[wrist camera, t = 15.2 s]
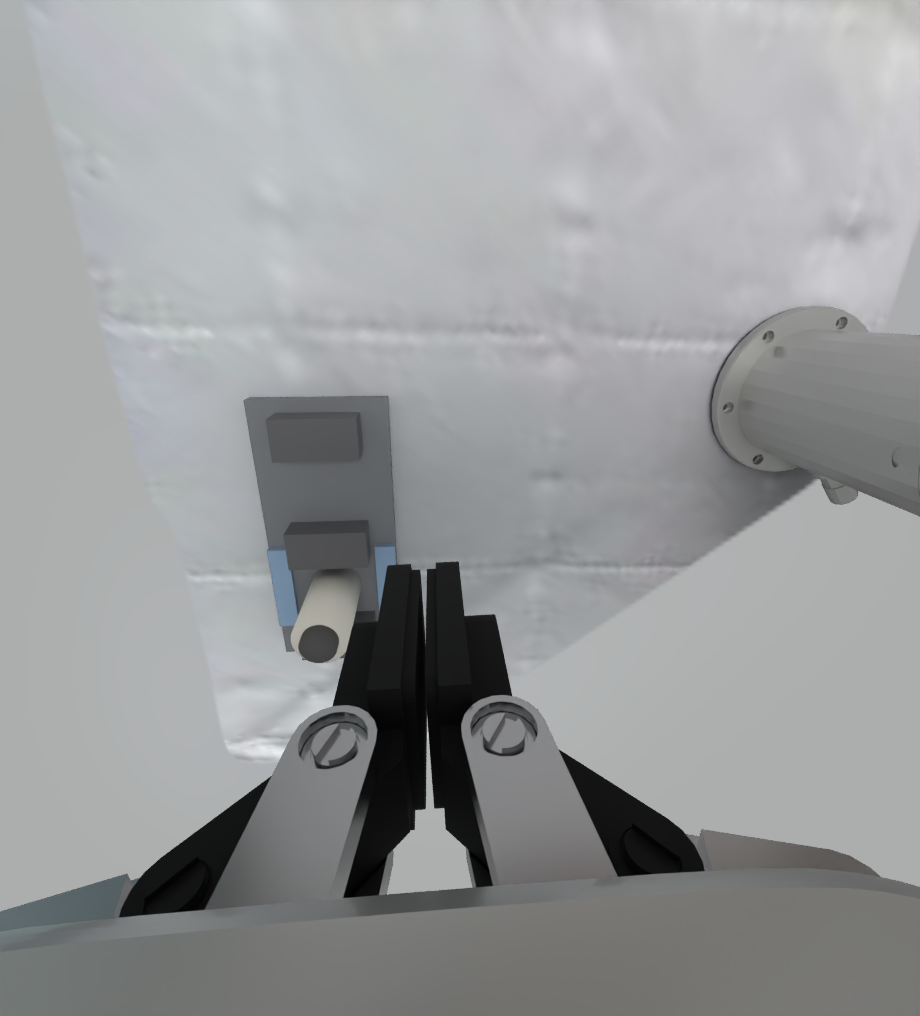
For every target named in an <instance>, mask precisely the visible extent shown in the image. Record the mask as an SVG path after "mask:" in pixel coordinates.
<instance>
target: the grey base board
mask: <svg viewBox="0 0 920 1016" xmlns="http://www.w3.org/2000/svg"><path fill="white" fill-rule="evenodd" d="M244 405H245V411H246V417H247V423H248V429H249V435H250V441H251V447H252V452H253V458H254V464H255V470H256V476H257V482H258V488H259V494H260V499H261V505H262V511H263V517H264V523H265V529H266V535H267V540H268V546H269V549H268V550H267V554H268V560H269V566H270V571H271V577H272V583H273V589H274V595H275V600H276V606H277V612H278V618H279V624H280V626H282V629H283V634H284V640H285V646H286V652H291V651H295V650H294V649H293V647H292V644H291V633H292V630H293V628H294V625H295V623H296V620H297V618H298V615H299V613H300V610H301V607H302V605H303V602H304V600H305V597H306V595H307V592H308V590H309V587H310V585H311V582H312V580H313V577H314V575H315V573H316V572H317V571H318V570H319V569H343V568H352V569H353V570H354V571H355V572H356V573H357V574H358V576H359V578H360V580H361V590H360V595H359V600H358V604H357V609H356V614H355V618H354V623H355V622H372V621H378V618H379V612H380V606H381V600H382V594H383V588H384V582H385V576H386V571H387V566H388V565H397V557H396V538H395V519H394V500H393V482H392V463H391V444H390V425H389V407H388V396H346V397H249V398H247V399H245V400H244ZM354 623H353V624H354ZM345 654H346V652H345V653H344V655H342V656H341V657H340V658H345ZM302 659H303V660H306V659H304V658H302Z"/></svg>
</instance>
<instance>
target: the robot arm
mask: <svg viewBox="0 0 920 1016" xmlns="http://www.w3.org/2000/svg"><path fill="white" fill-rule="evenodd" d="M723 406H724V407H723ZM712 422H713V427H714V432H715V434H716V436H717V438H718V441H719V443H720V445H721V446H722V447H723V448H724V450H725V451H726V452H727V453H728V454H729V455H730V456H731V457H733V458H734V459H735V460H737V461H738V462H740V463H742V464H744V465H746V466H748V467H751V468H754V469H757V470H760V471H769V472H779V471H788V470H792V469H796V468H799V467H801V468H803V469H806V470H808V471H809V472H810V473H811V475H812V476H813V477H814V478H818V479H820V480H821V482H822V486H823V488H824V490H825V492H826V494H827V496H828V498H829V500H830V501H831V502H832V503H834V504H841V505H842V504H846V503H850V502H851V501H853V500H855V499H856V498H857V496H858V491H860V492H863V493H865V494H868V495H870V496H872V497H875V498H877V499H879V500H882V501H884V502H887V503H889V504H891V505H894V506H896V507H899V508H901V509H903V510H906V511H908V512H911V513H913V514H915V515H918V516H920V335H906V334H889V333H871V332H868V330H867V329H866V327H865V326H864V325H863V324H862V323H861V322H860V321H859V320H858V319H857V318H856V317H854V316H853V315H851V314H849V313H847V312H846V311H844V310H840V309H836V308H832V307H820V306H811V307H799V308H795V309H792V310H788V311H785V312H782V313H780V314H778V315H776V316H774V317H772V318H770V319H768V320H766V321H765V322H763V323H762V324H761V325H759V326H758V327H756V328H755V329H754V330H752V331H751V332H750V333H749V334H748V335H747V336H746V337H745V338H744V339H743V340H742V341H741V342H740V343H739V344H738V345H737V347H736V348H735V349H734V351H733V352H732V353H731V355H730V356H729V357H728V359H727V361H726V363H725V365H724V367H723V368H722V370H721V372H720V374H719V377H718V380H717V383H716V386H715V388H714V394H713V400H712ZM857 490H858V491H857ZM427 718H428V731H429V744H430V757H431V770H432V784H433V796H434V808H445V824H446V830H447V831H449V832H450V833H451V834H452V835H453V836H454V837H455V838H456V839H457V840H458V841H460V842H461V843H462V844H463V845H464V846H465V847H466V856H467V863H468V868H469V873H470V877H471V882H472V887H473V888H464V889H453V890H452V889H451V890H439V891H426V892H414V893H403V894H402V893H401V894H389V895H387V890H388V885H389V880H390V876H391V871H392V866H393V849H394V848H395V847H396V846H397V845H398V844H399V843H400V842H401V840H403V838H404V837H405V836H406V835H407V834H408V833H409V832H410V830H415V829H414V828H415V810H422V809H425V808H426V743H427ZM0 1016H920V887H918V886H914V885H911V884H908V883H904V882H900V881H896V880H891V879H887V878H882V877H880V876H879V875H878V874H877V873H876V872H874V871H873V870H872V869H871V868H870V867H868V866H866V865H865V864H863V863H861V862H859V861H858V860H856V859H854V858H853V857H851V856H849V855H846V854H843V853H839V852H836V851H833V850H829V849H822V848H817V847H810V846H804V845H797V844H792V843H785V842H779V841H773V840H766V839H760V838H754V837H747V836H741V835H734V834H728V833H722V832H715V831H709V830H703V829H702V830H701V833H700V836H694V835H688V834H685V833H684V832H683V831H682V830H681V829H680V828H679V827H678V826H676V825H675V824H674V823H673V822H671V821H670V820H669V819H667V818H666V817H664V816H662V815H661V814H659V813H658V812H656V811H655V810H653V809H652V808H650V807H648V806H647V805H645V804H644V803H642V802H640V801H639V800H637V799H636V798H634V797H633V796H631V795H629V794H628V793H626V792H625V791H623V790H622V789H620V788H619V787H617V786H615V785H614V784H612V783H610V782H609V781H608V780H606V779H604V778H603V777H601V776H600V775H598V774H596V773H595V772H593V771H592V770H590V769H589V768H587V767H586V766H584V765H582V764H581V763H579V762H578V761H576V760H575V759H573V758H571V757H570V756H568V755H567V754H565V753H563V752H562V751H560V750H559V749H558V748H557V745H556V743H555V741H554V739H553V737H552V734H551V732H550V731H549V728H548V726H547V724H546V722H545V719H544V718H543V717H542V715H541V714H540V712H539V711H538V709H536V708H535V707H534V706H533V705H531V704H530V703H529V702H527V701H524V700H522V699H520V698H518V697H513V696H512V693H511V688H510V683H509V678H508V673H507V669H506V664H505V659H504V654H503V649H502V645H501V640H500V635H499V630H498V625H497V620H496V616H495V615H494V614H492V615H475V616H464V608H463V598H462V589H461V580H460V570H459V562H441V563H436V569H427V607H426V643H425V629H424V615H423V601H422V587H421V574H420V570H412V568H411V564H404V565H388V566H387V571H386V576H385V582H384V588H383V594H382V600H381V606H380V612H379V618H378V621H372V622H355V623H354V624H353V627H352V630H351V634H350V638H349V642H348V646H347V650H346V654H345V658H344V662H343V666H342V670H341V674H340V679H339V683H338V687H337V691H336V695H335V699H334V703H333V707H329V708H326V709H323V710H320V711H319V712H317V713H315V714H313V715H311V716H309V717H308V718H307V719H306V720H305V721H304V722H303V723H301V724H300V725H299V726H298V728H297V729H296V731H295V732H294V734H293V735H292V737H291V739H290V741H289V743H288V744H287V746H286V748H285V750H284V752H283V754H282V756H281V758H280V760H279V762H278V765H277V767H276V768H275V771H274V772H273V774H272V776H271V777H270V778H268V779H267V780H266V781H264V782H263V783H261V784H260V785H259V786H257V787H256V788H255V789H253V790H252V791H251V792H249V793H248V794H247V795H245V796H244V797H243V798H241V799H240V800H239V801H237V802H236V803H234V804H233V805H232V806H230V807H229V808H228V809H227V810H225V811H224V812H222V813H221V814H220V815H218V816H217V817H216V818H214V819H213V820H212V821H210V822H209V823H207V824H206V825H205V826H204V827H202V828H201V829H199V830H198V831H197V832H195V833H194V834H193V835H191V836H190V837H188V838H187V839H186V840H184V841H183V842H182V843H180V844H179V845H178V846H176V847H175V848H174V849H172V850H171V851H170V852H168V853H167V854H166V855H164V856H163V857H161V858H160V859H159V860H158V861H157V862H156V863H155V864H154V865H152V866H151V867H150V868H149V869H148V870H147V871H146V872H145V873H144V874H143V875H142V876H141V878H138V879H134V880H131V881H130V878H129V876H128V874H124V875H121V876H117V877H114V878H111V879H107V880H104V881H101V882H97V883H94V884H91V885H87V886H84V887H81V888H77V889H74V890H71V891H67V892H64V893H61V894H57V895H54V896H51V897H47V898H44V899H41V900H37V901H34V902H31V903H27V904H24V905H21V906H17V907H14V908H11V909H7V910H4V911H1V912H0Z"/></svg>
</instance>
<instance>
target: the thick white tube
mask: <svg viewBox="0 0 920 1016" xmlns="http://www.w3.org/2000/svg"><path fill="white" fill-rule="evenodd" d="M360 590H361V580H360V578H359V576H358V574H357V573H356V572H355V571H354V570H353V569H352V568H343V569H319V570H318V571H317V572H316V573H315V575H314V577H313V580H312V582H311V585H310V587H309V590H308V592H307V595H306V597H305V600H304V602H303V605H302V607H301V610H300V613H299V615H298V618H297V620H296V623H295V625H294V628H293V630H292V633H291V644H292V647H293V649H294V650H295V651H296V653H297V654H298V655H300V656H301V657H302V658H304V659H306V660H308V661H310V662H314V663H327V662H332V661H334V660H337V659H338V658H340V657H341V656H342V655H344V653H345V652H346V650H347V646H348V642H349V638H350V634H351V630H352V627H353V623H354V618H355V614H356V609H357V604H358V600H359V595H360Z"/></svg>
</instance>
